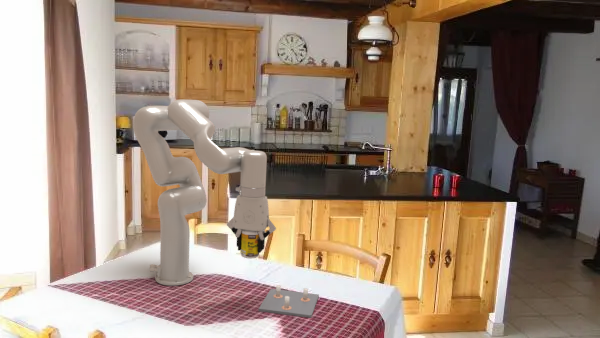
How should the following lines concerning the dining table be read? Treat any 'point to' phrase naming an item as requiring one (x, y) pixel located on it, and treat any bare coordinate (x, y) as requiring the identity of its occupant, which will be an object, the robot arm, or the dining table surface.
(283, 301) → the peg board
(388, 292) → the dining table surface
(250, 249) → the supplement bottle
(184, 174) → the robot arm
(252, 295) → the dining table surface
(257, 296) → the dining table surface
